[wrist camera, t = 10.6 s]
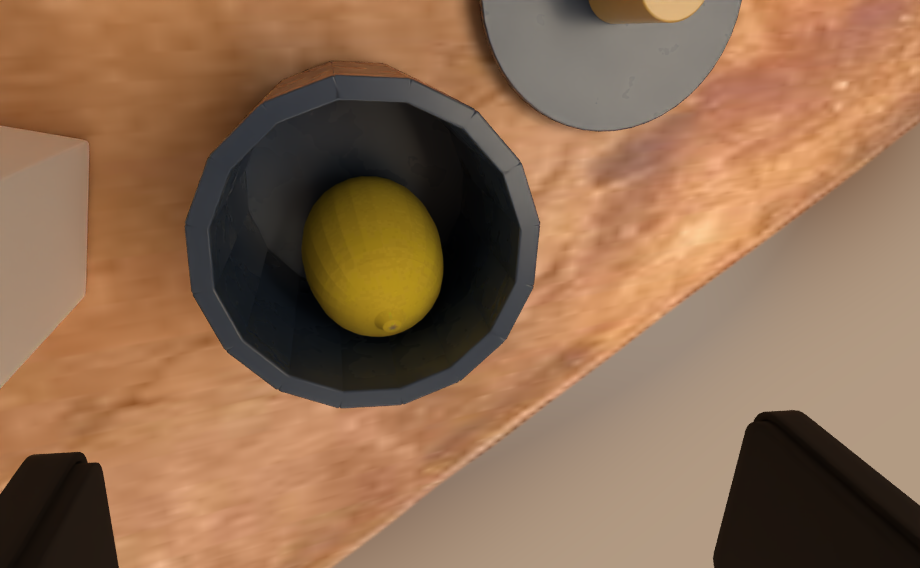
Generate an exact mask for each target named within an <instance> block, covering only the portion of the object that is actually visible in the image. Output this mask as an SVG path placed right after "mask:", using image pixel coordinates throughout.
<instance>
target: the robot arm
mask: <svg viewBox="0 0 920 568" xmlns="http://www.w3.org/2000/svg"><path fill="white" fill-rule="evenodd" d="M713 562H714V568H920V505H918V504H917V503H916V502H915V501H913V500H912V499H911V498H910V497H908V496H907V495H906V494H905V493H903V492H902V491H901V490H900V489H898V488H897V487H896V486H895V485H893V484H892V483H891V482H890V481H888V480H887V479H886V478H885V477H883V476H882V475H881V474H880V473H878V472H877V471H875V470H874V469H873V468H872V467H871V466H869V465H868V464H867V463H866V462H864V461H863V460H862V459H861V458H859V457H858V456H857V455H856V454H854V453H853V452H852V451H851V450H849V449H848V448H847V447H846V446H844V445H843V444H842V443H841V442H839V441H838V440H837V439H836V438H834V437H833V436H832V435H831V434H829V433H828V432H827V431H826V430H824V429H823V428H822V427H821V426H819V425H818V424H817V423H816V422H814V421H813V420H812V419H810V418H809V417H808V416H807V415H805V414H804V413H802V412H800V411H795V410H789V411H772V412H763V413H760V414H758V415H757V417H756V418H755V419H754V422H752V423H750V424H749V425H748V426H747V429H746V431H745V435H744V438H743V442H742V446H741V450H740V454H739V458H738V462H737V465H736V469H735V473H734V478H733V481H732V485H731V489H730V493H729V497H728V501H727V504H726V508H725V512H724V516H723V520H722V524H721V527H720V531H719V535H718V539H717V543H716V547H715V551H714V556H713ZM0 568H119V566H118V560H117V554H116V548H115V542H114V536H113V530H112V524H111V518H110V512H109V506H108V500H107V494H106V488H105V482H104V476H103V471H102V467H101V465H100V464H99V463H87V459H86V457H85V455H84V454H83V453H81V452H71V453H54V454H36V455H31V456H28V457H27V458H26V459H25V461H24V462H23V463H22V464H21V466H20V467H19V469H18V470H17V472H16V473H15V474H14V476H13V477H12V479H11V480H10V481H9V483H8V484H7V486H6V487H5V488H4V490H3V491H2V493H1V494H0Z"/></svg>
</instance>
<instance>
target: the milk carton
mask: <svg viewBox="0 0 920 568" xmlns="http://www.w3.org/2000/svg"><path fill="white" fill-rule="evenodd" d="M88 192H89V143H88V141H86V140H83V139H77V138H71V137H65V136H59V135H53V134H48V133H42V132H36V131H30V130H24V129H18V128H12V127H6V126H0V388H1V387H2V386H3V385H4V384H5V383H6V382H7V381H8V380H9V379H10V377H11V376H12V375H13V374H14V373H15V372H16V371H17V370H18V369H19V368H20V367H21V365H22V364H23V363H24V362H25V361H26V360H27V359H28V358H29V357H30V356H31V355H32V353H33V352H34V351H35V350H36V349H37V348H38V347H39V346H40V345H41V344H42V343H43V341H44V340H45V339H46V338H47V337H48V336H49V335H50V334H51V333H52V332H53V331H54V329H55V328H56V327H57V326H58V325H59V324H60V323H61V322H62V321H63V320H64V319H65V317H66V316H67V315H68V314H69V313H70V312H71V311H72V310H73V309H74V308H75V307H76V305H77V304H78V303H79V302H80V301H81V300H82V299H83V298H84V296H85V293H86V274H87V233H88Z"/></svg>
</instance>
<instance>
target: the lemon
mask: <svg viewBox="0 0 920 568" xmlns="http://www.w3.org/2000/svg"><path fill="white" fill-rule="evenodd" d="M301 249H302V261H303V265H304V269H305V274H306V278H307V281H308V284H309V286H310V289H311V291H312V293H313V294H314V296H315V298H316V299H317V301H318V303H319V304H320V306H321V307H322V309H323V310H324V312H325V313H326V314H327V315H328V316H329V317H330V318H331V319H332V320H333V321H335V322H336V323H337V324H338V325H340V326H341V327H342V328H344V329H346V330H349V331H351V332H353V333H356V334H359V335H364V336H370V337H385V336H391V335H395V334H398V333H401V332H403V331H405V330H407V329H409V328H411V327H413V326H414V325H415V324H417V323H418V322H419V321H421V320H422V319H423V318H424V317H425V316H426V314H427V313H428V312H429V311H430V310H431V308H432V307H433V305H434V303H435V301H436V299H437V297H438V295H439V293H440V289H441V284H442V278H443V269H444V264H443V253H442V248H441V242H440V237H439V233H438V230H437V228H436V225H435V223H434V221H433V220H432V218H431V216H430V214H429V213H428V211H427V209H426V207H425V206H424V205H423V203H422V202H421V201H420V200H419V199H418V198H417V197H416V196H415V195H414V194H413V193H412V192H411V191H410V190H408V189H407V188H406V187H404V186H402V185H400V184H398V183H396V182H394V181H392V180H389V179H385V178H381V177H376V176H360V177H355V178H350V179H347V180H345V181H343V182H340V183H338V184H336V185H334V186H333V187H331V188H330V189H329V190H327V191H326V192H324V193H323V195H322V196H321V197H320V198H319V199H318V200H317V202H316V203H315V204H314V205H313V207H312V209H311V211H310V213H309V215H308V218H307V220H306V222H305V225H304V231H303V238H302V247H301Z"/></svg>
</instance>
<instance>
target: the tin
mask: <svg viewBox="0 0 920 568" xmlns="http://www.w3.org/2000/svg"><path fill="white" fill-rule="evenodd" d="M360 176H376V177H381V178H385V179H389V180H392V181H394V182H396V183H398V184H400V185H402V186H404V187H406V188H407V189H408V190H410V191H411V192H412V193H413V194H414V195H415V196H416V197H417V198H418V199H419V200H420V201H421V202H422V203H423V205H424V206H425V207H426V209H427V211H428V213H429V214H430V216H431V218H432V220H433V221H434V223H435V225H436V228H437V230H438V233H439V237H440V242H441V248H442V253H443V264H444V269H443V278H442V284H441V289H440V293H439V295H438V297H437V299H436V301H435V303H434V305H433V307H432V308H431V310H430V311H429V312H428V313H427V314H426V316H425V317H424V318H423V319H422V320H421V321H419V322H418V323H417V324H415V325H414V326H413V327H411V328H409V329H407V330H405V331H403V332H401V333H398V334H395V335H391V336H385V337H370V336H364V335H359V334H356V333H353V332H351V331H349V330H346V329H344V328H342V327H341V326H340V325H338V324H337V323H336V322H335V321H333V320H332V319H331V318H330V317H329V316H328V315H327V314H326V313H325V312H324V310H323V309H322V307H321V306H320V304H319V303H318V301H317V299H316V298H315V296H314V294H313V293H312V291H311V289H310V286H309V284H308V281H307V278H306V274H305V269H304V265H303V261H302V249H301V247H302V238H303V231H304V225H305V222H306V220H307V218H308V215H309V213H310V211H311V209H312V207H313V205H314V204H315V203H316V202H317V200H318V199H319V198H320V197H321V196H322V195H323V193H324V192H326V191H327V190H329V189H330V188H331V187H333V186H334V185H336V184H338V183H340V182H343V181H345V180H347V179H350V178H355V177H360ZM185 224H186V225H185V235H186V245H187V254H188V264H189V274H190V283H191V291H192V293H193V296H194V298H195V300H196V301H197V303H198V305H199V307H200V308H201V310H202V312H203V313H204V315H205V317H206V319H207V320H208V322H209V324H210V325H211V327H212V329H213V331H214V332H215V334H216V336H217V337H218V339H219V341H220V342H221V344H222V346H223V348H224V349H225V350H227V352H228V353H229V354H230V355H232V356H233V357H234V358H236V359H237V360H238V361H239V362H241V363H242V364H243V365H245V366H246V367H247V368H249V369H250V370H251V371H253V372H254V373H255V374H257V375H258V376H259V377H261V378H262V379H263V380H265V381H266V382H267V383H269V384H270V385H271V386H273V387H274V388H275V389H279V391H281V392H285V393H288V394H292V395H295V396H298V397H302V398H305V399H309V400H312V401H315V402H319V403H322V404H326V405H329V406H333V407H336V408H339V407H340V408H357V407H375V406H392V405H402V404H406V403H408V402H411V401H413V400H416V399H418V398H421V397H423V396H425V395H428V394H430V393H433V392H435V391H437V390H440V389H442V388H445V387H447V386H450V385H452V384H454V383H457V382H459V380H460V381H461V380H462V379H463V378H464V377H465V376H466V375H468V374H469V373H470V372H471V371H472V370H473V369H474V368H475V367H477V366H478V365H479V364H480V363H481V362H482V361H483V360H484V359H485V358H487V357H488V356H489V355H490V354H491V353H492V352H493V351H494V350H495V349H497V348H498V347H499V346H500V345H501V344H502V343H503V342H504V341H505V340H506V339H507V337H508V335H509V333H510V331H511V329H512V327H513V325H514V323H515V322H516V320H517V318H518V316H519V314H520V312H521V310H522V308H523V306H524V304H525V302H526V301H527V299H528V297H529V295H530V293H531V291H532V289H533V285H534V279H535V269H536V259H537V250H538V240H539V230H540V225H539V224H540V221H539V218H538V215H537V211H536V208H535V205H534V202H533V198H532V195H531V192H530V189H529V185H528V182H527V179H526V176H525V172H524V169H523V166H522V163H521V162H520V160H519V159H518V158H517V157H516V155H515V154H514V153H513V152H512V151H511V150H510V148H509V147H508V146H507V145H506V144H505V143H504V141H503V140H502V139H501V138H500V137H499V136H498V134H497V133H496V132H495V131H494V130H493V129H492V127H491V126H490V125H489V124H488V123H487V122H486V120H485V119H484V118H483V117H482V116H481V115H480V113H479V112H478V111H476V110H475V109H474V108H472V107H470V106H468V105H466V104H464V103H462V102H460V101H458V100H456V99H454V98H452V97H450V96H449V95H447V94H445V93H443V92H441V91H439V90H437V89H435V88H433V87H431V86H429V85H427V84H425V83H423V82H421V81H419V80H417V79H415V78H413V77H411V76H409V75H407V74H405V73H403V72H401V71H398V70H396V69H394V68H392V67H390V66H388V65H386V64H383V63H366V62H345V61H332V62H331V61H330V62H327V63H324V64H322V65H319V66H317V67H314V68H311V69H307V70H305V71H303V72H301V73H298V74H296V75H293V76H290V77H288V78H285V79H283V80H282V81H280V82H279V83H278V84H277V85H276V86H275V87H274V88H273V90H272V91H271V92H270V93H269V94H268V95H267V96H266V97H265V98H264V99H263V100H262V101H261V102H260V103H259V104H258V105H257V106H256V107H255V108H254V109H253V110H252V111H251V112H250V113H249V114H248V115H247V116H246V117H245V118H244V119H243V120H242V121H241V122H240V123H239V124H238V125H237V126H236V127H235V129H234V130H233V131H232V132H231V133H230V134H229V135H228V136H227V137H226V138H225V139H224V140H223V141H222V142H221V143H220V144H219V145H218V147H217V148H216V149H215V150H214V151H213V152H212V153H211V154H210V156H209V157H208V159H207V161H206V164H205V167H204V170H203V173H202V176H201V178H200V181H199V184H198V187H197V190H196V193H195V195H194V198H193V201H192V204H191V207H190V210H189V212H188V215H187V218H186V221H185Z"/></svg>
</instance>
